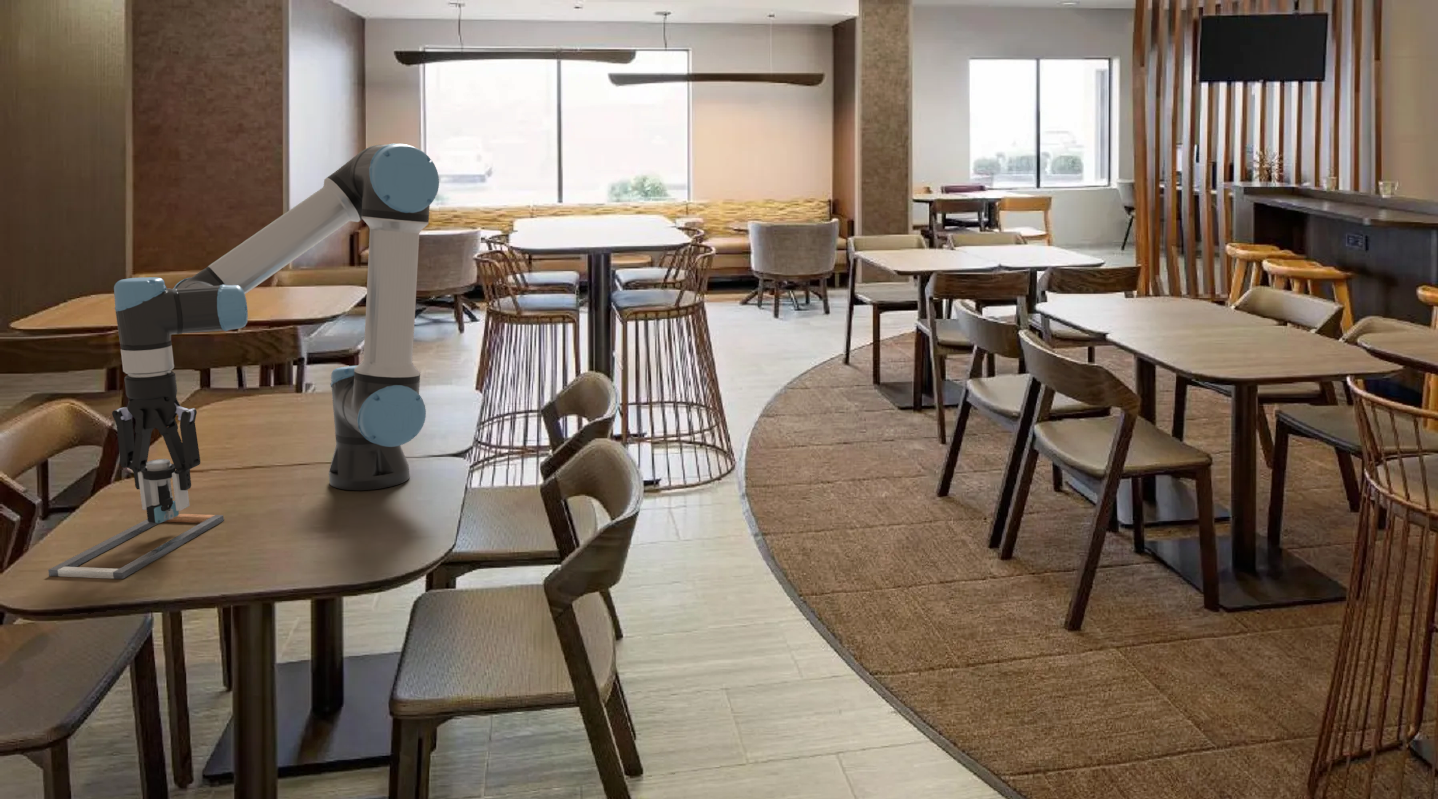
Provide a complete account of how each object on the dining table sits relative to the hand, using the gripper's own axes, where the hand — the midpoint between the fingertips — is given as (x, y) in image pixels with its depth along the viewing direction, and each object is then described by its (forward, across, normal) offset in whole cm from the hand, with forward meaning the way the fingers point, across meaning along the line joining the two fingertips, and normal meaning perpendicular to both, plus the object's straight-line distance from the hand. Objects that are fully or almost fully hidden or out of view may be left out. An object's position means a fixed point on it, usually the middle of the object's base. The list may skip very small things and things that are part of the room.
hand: (166, 507), depth 188 cm
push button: (+2, 0, 0) cm, 2 cm away
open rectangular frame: (+4, 0, +7) cm, 8 cm away
